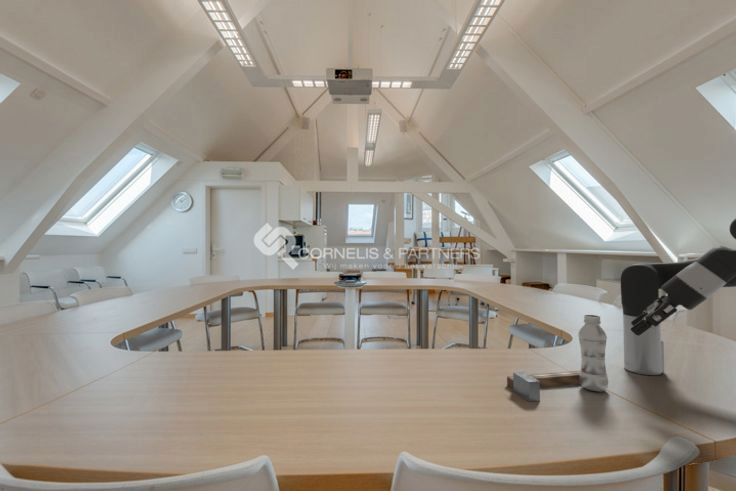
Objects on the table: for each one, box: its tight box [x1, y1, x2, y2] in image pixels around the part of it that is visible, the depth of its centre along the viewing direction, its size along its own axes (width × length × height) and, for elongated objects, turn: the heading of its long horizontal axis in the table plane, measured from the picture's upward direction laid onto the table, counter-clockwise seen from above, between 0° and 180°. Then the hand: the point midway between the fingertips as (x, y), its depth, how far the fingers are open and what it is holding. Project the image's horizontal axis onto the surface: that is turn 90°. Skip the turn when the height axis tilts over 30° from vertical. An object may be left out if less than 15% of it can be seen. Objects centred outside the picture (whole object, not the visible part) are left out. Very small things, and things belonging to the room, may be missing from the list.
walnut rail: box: [506, 370, 581, 390], centre depth 101 cm, size 28×3×3 cm, turn 99°
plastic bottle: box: [577, 314, 610, 392], centre depth 96 cm, size 6×7×20 cm
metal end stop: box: [512, 371, 541, 403], centre depth 93 cm, size 3×7×5 cm, turn 9°
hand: (633, 329), depth 90 cm, fingers open, 8 cm apart
